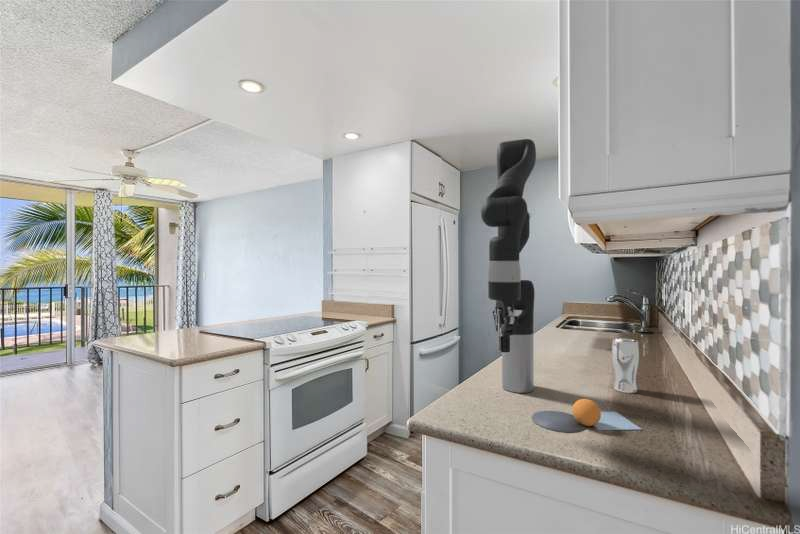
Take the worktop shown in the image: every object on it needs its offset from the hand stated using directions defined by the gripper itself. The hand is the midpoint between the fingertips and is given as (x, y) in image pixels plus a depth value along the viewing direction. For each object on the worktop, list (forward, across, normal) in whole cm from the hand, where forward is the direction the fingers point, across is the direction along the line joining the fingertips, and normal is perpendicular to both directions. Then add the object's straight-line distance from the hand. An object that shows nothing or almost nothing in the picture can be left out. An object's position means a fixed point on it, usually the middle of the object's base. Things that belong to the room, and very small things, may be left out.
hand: (504, 351), depth 89 cm
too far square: (+17, 0, -25) cm, 30 cm away
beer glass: (+17, +22, -43) cm, 51 cm away
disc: (+17, 0, -13) cm, 21 cm away
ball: (+14, -2, -19) cm, 24 cm away
